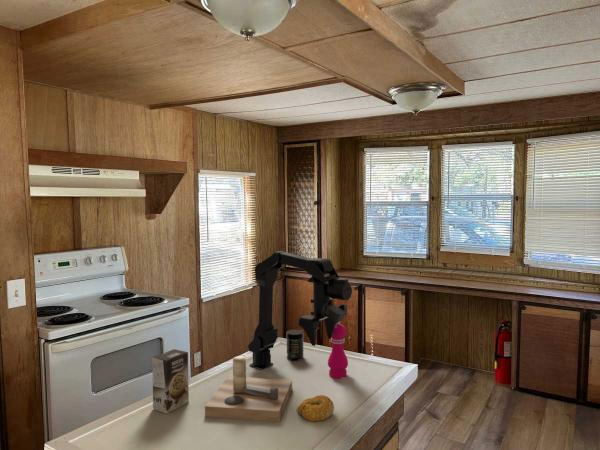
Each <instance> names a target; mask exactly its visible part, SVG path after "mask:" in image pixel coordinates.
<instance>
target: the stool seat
mask: <svg viewBox="0 0 600 450" xmlns="http://www.w3.org/2000/svg"><path fill="white" fill-rule="evenodd" d="M246 385H247V386H252V387H257V388H263V389H268V390H270V388H273V387H276V388H278V399H271V398H270V397H266V396H261V395H256V394H251V393H245V392H241V393H237V392H234V391H233V376H227V377H226V378H225V380H224V381H223V382H222V384H221V385H220V386H219V387H218V389H217V390H216V391H215V393H214V394H213V396H212V397H210V398H209V400H208V402H207V403H206V404H205V405H204V417H211V418H225V419H226V418H227V419H241V420H253V421H267V422H268V421H269V422H280V420H281V418H282V416H283V413H284V410H285V408H286V405H287V403H288V400H289V398H290V395H291V393H292V390H293V380H292V379H281V378H280V379H279V378H278V379H277V378H261V377H246Z"/></svg>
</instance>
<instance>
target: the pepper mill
mask: <svg viewBox="0 0 600 450" xmlns="http://www.w3.org/2000/svg"><path fill="white" fill-rule="evenodd" d="M346 335H347V329H346V327H345V326H344V324H341V321H340V322H338V323H336V326H335V328H334V332H333V335H332V338H331V339H330V343H331V345H332V347H331V352H330V354H329V356H328V359H327V366H328V368H329V370H328V375H329V377H330V378H333V379H343V378H346V377H347V376H348V375H347V373H348V372H347V368H348V366H349V360H348V357H347V355H346V353H345V349H344V344H345V342H346V338H345V336H346Z"/></svg>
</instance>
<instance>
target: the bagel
mask: <svg viewBox="0 0 600 450" xmlns="http://www.w3.org/2000/svg"><path fill="white" fill-rule="evenodd" d="M334 405H335V404H334V401H332V400H331V398H330V397H329V396H327V395H324V394H323V395H322V394H319V395H316V396H313V397H310V398H306V399H304V400H303V401H301V403H300V404H299V405H298V406H297V407H296V411H297V412H298V414H300V415H301V416H303V419H306V420H307V421H310V422H321V421H325V420H326V419H328V418H329V417H330V416H332V414H333V412H334V410H335V406H334Z"/></svg>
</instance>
